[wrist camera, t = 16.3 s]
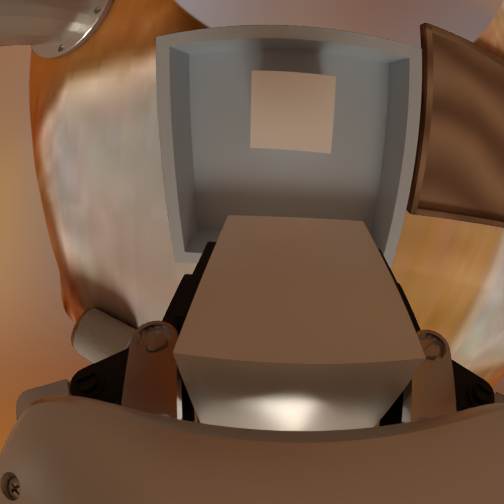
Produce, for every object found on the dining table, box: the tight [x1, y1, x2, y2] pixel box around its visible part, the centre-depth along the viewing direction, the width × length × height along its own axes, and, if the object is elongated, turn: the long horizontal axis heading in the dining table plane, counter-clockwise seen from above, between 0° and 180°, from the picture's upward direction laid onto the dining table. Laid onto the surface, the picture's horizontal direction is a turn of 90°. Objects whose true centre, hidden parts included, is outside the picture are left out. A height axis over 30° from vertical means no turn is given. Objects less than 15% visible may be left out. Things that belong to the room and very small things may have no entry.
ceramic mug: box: [71, 308, 136, 363], centre depth 34 cm, size 11×8×8 cm
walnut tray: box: [406, 23, 504, 228], centre depth 17 cm, size 18×20×1 cm
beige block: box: [250, 70, 336, 154], centre depth 17 cm, size 5×5×6 cm
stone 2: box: [173, 215, 426, 431], centre depth 8 cm, size 5×5×6 cm
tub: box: [156, 25, 422, 269], centre depth 20 cm, size 18×18×5 cm
